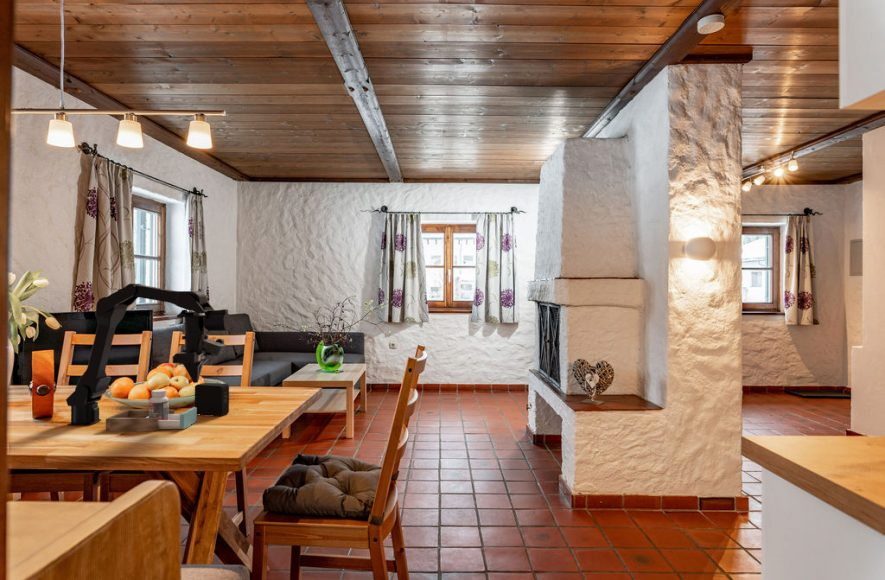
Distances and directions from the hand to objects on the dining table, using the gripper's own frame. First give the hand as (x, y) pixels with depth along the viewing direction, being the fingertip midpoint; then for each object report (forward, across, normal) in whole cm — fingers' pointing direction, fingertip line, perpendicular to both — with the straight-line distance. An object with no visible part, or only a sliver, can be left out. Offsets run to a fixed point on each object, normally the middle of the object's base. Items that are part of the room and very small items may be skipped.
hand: (195, 382), depth 168 cm
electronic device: (+13, +14, 0) cm, 19 cm away
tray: (+13, -1, +7) cm, 15 cm away
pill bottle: (+12, -1, +11) cm, 16 cm away
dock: (+12, -1, +16) cm, 20 cm away
